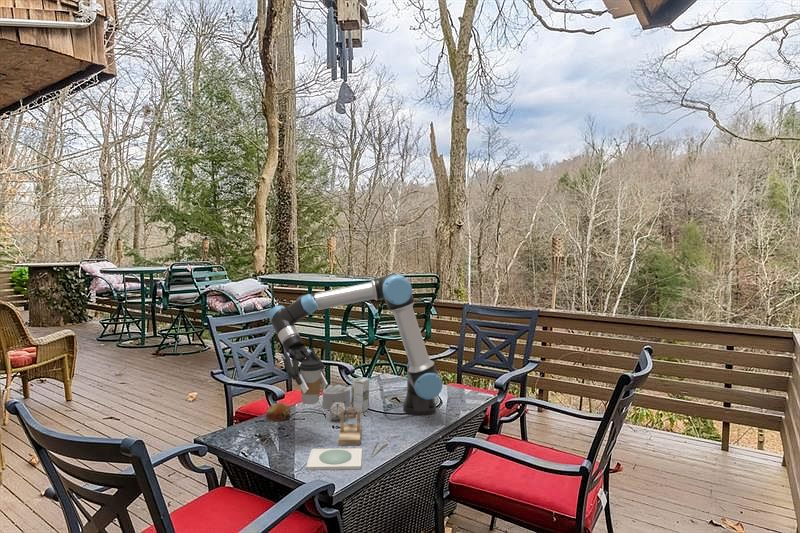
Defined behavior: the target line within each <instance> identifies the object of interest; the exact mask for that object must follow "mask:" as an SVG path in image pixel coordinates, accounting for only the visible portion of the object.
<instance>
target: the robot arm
mask: <svg viewBox="0 0 800 533" xmlns="http://www.w3.org/2000/svg"><path fill="white" fill-rule="evenodd" d="M370 300H375V301H381V300H384V301H385V303H386V307H387V310H388V311H389V312H390V313H392V314H393V317H394V319H395V320H394V321H395V323H396V326H397V329H398V331H399V336H400V338H401V341H402V345H403V347H404V351H405V354H406V357H407V360H408V362H407V366H406V368H407V371H406V372H407V375H406V376H407V378H406V380H407V381H406V384H407V385H406V386H407V387H406V388H407V389H406V391H407V392H406V395H405V399H404V402H403V404H402V410H403V412H404V413H406V414H408V415H413V416H431V415H433V414H435V413H436V412H437V404H436V401H435V398H437V397H438V396H439V395H440V393H441V392H442V389H443V382H442V381H443V380H442V378H441V376H440V375H439V374H438V370H437V367H436V364H435V362H434V360H431V359H430V356H429V353H428V350H427V349H426V345H425V341H424V338H423V335H422V332H421V329H420V326H419V323H418V319H417V316H416V313H415V310H414V308H413V306H414V304H415V298H414V296H413V287H412V284H411V282H410V280H408V278H406V277H405V276H403V275H402V274H396V273H391V274H387V275H384V276H381V277H377V278H373V279H372V280H371V281H370V282H369V281H368V282H363V283H359V284H356V285H355V284H354V285H350V286H349V285H348V286H345V287H341V288H336V289H335V288H334V289H330V290H324V291H321V292H315V293H311V294H310V293H307V294H302V295H300V296H299V297H297V298H296V300H295V301H294V302H292V303H291V304H290V305H287V306H286V307H285V306H284V305H277V306H273V307H272V308H270V310H269V312H268V314H267V317H268V318H269V321H270V324H271V325H272V327H273V330H274V331H275V334H277V336H278V339H279V340H280V343H281V344H282V347H283V349H284V353H282V355H281V359H282V361H283V362H284V367H285V369H286V372H287V377H288V378H289V379H292V380H293V381H294V380H295V382H296V384H297V385H298V386H299V387H300V390H301V389H302V391H303V393H306V392H307V390H308V387H307V385H306V383H305V381H304V379H303V377H302V375H301V374H300V365H299V361H301V362H303V361H307V360H317V361H320V363H321V365H322V366H321V367H322V369H321V383H320V386H321V387H322V389H326V388H327V387H328V386H329V384H328V382H327V379H326V375H325V373H324V372H323V370H325V368H326V366H325V364H324V363H323V361H322V360H321V359H320V358H319V357H318V355H317V354H316V352H315V349H314V348H313V347H310V348H309V349H308V348H307V347H305V344H304V341H303V339H302V337H301V336H300V333H299V332H298V330H297V328H296V325H295V324H297V323H298V322H299V321H301V320H302V319H305V318H306V317H308V316H309V315H311V314H313V313H314V312H316V311H320V310H325V309H326V310H327V309H331V308H334V307H341V306H344V305H350V304H355V303H359V302H366V301H370ZM432 413H433V414H432Z"/></svg>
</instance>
